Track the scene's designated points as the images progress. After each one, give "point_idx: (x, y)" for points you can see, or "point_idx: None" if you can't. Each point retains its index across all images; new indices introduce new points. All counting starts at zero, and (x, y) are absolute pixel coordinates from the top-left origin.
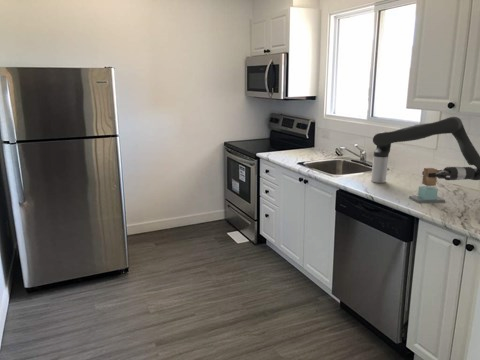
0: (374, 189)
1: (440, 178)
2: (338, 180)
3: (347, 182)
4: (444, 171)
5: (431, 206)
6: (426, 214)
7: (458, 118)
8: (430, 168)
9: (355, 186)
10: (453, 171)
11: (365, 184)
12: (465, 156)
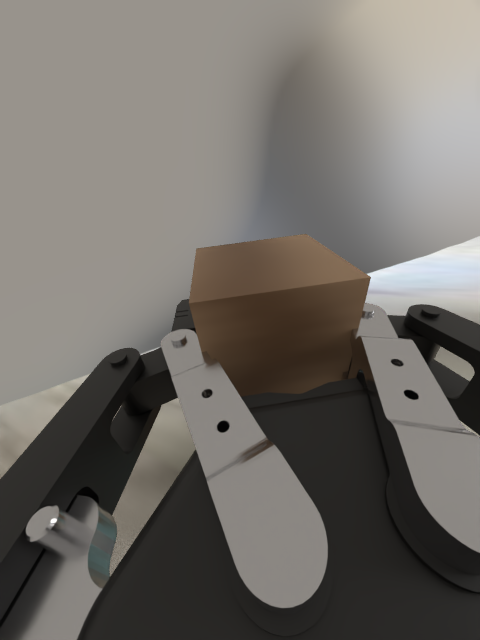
0: (399, 308)
1: (124, 418)
2: (461, 257)
3: (452, 268)
4: (224, 534)
5: (147, 453)
6: (67, 387)
7: None
8: (298, 260)
9: (406, 278)
10: None
11: (470, 295)
12: None
